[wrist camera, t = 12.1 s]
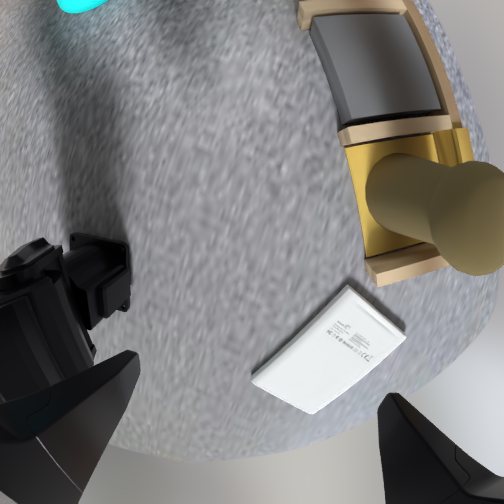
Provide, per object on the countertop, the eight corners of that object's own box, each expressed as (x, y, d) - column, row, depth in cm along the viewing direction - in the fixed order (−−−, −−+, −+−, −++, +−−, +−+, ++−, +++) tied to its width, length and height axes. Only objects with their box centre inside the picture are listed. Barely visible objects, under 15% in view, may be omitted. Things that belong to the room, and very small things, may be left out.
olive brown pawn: (384, 246, 19) (463, 321, 9) (350, 174, 18) (429, 190, 8) (443, 210, 18) (540, 253, 8) (414, 140, 17) (518, 133, 6)
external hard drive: (251, 371, 25) (345, 280, 21) (312, 404, 26) (402, 329, 22) (250, 382, 24) (350, 289, 20) (313, 416, 24) (408, 339, 21)
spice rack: (365, 271, 20) (379, 290, 17) (296, 20, 15) (299, -3, 12) (457, 244, 19) (480, 257, 15) (399, 15, 13) (415, -3, 10)
